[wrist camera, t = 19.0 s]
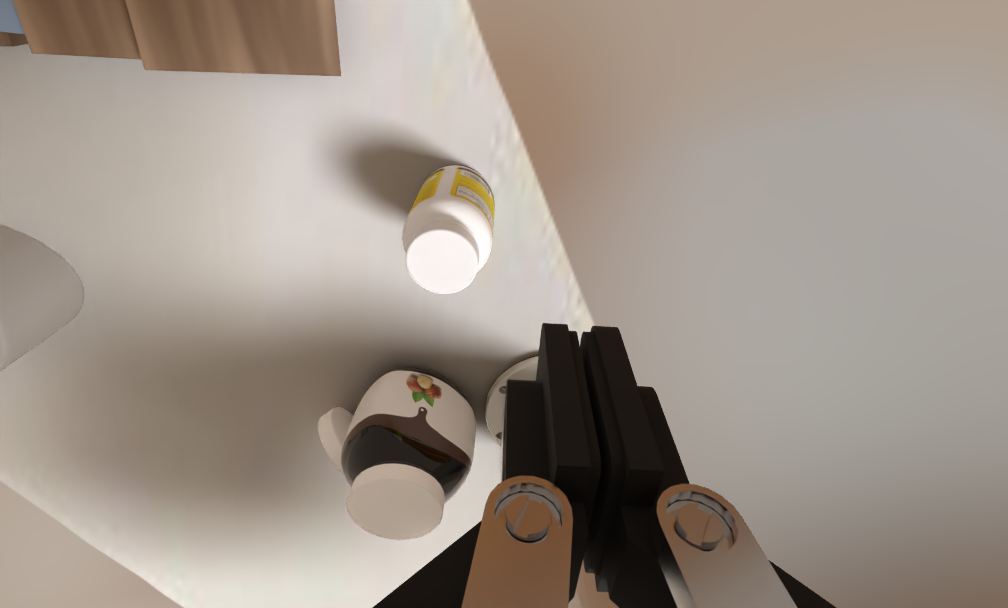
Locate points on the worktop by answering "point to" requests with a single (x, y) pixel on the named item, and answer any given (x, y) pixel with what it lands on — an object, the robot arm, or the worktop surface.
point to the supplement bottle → (449, 229)
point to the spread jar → (402, 451)
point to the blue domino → (9, 18)
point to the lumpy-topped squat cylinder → (33, 294)
